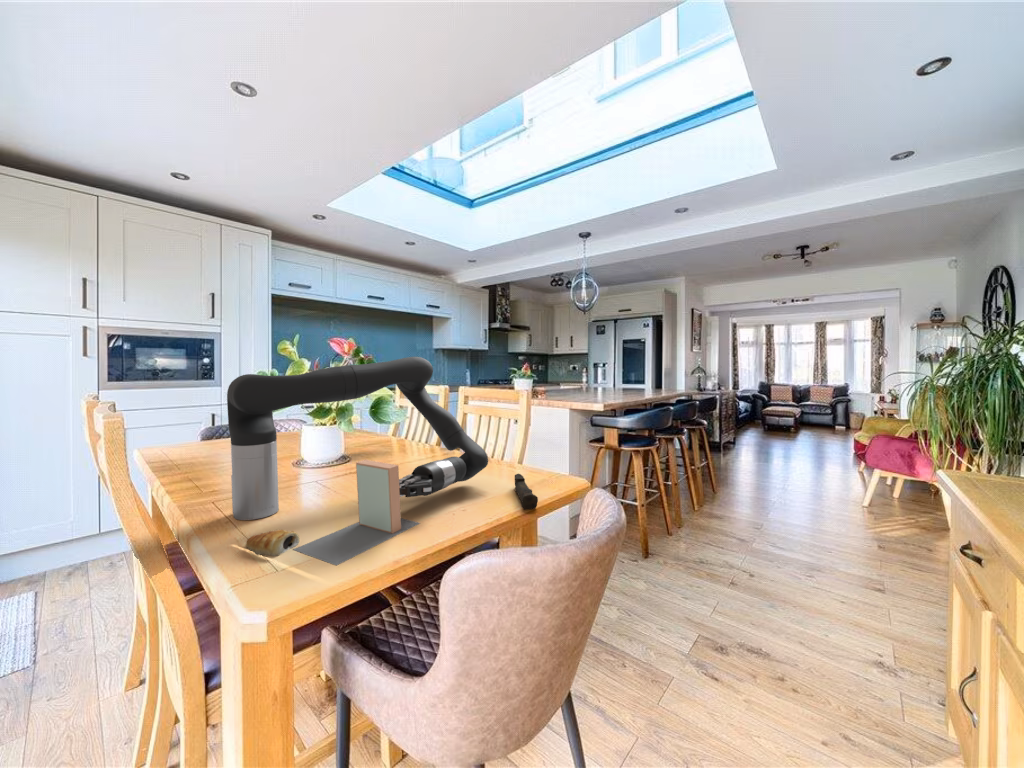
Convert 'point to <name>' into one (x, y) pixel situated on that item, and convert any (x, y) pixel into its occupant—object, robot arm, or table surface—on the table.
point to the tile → (378, 495)
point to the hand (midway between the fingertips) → (382, 495)
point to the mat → (349, 542)
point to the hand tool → (525, 493)
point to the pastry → (272, 542)
